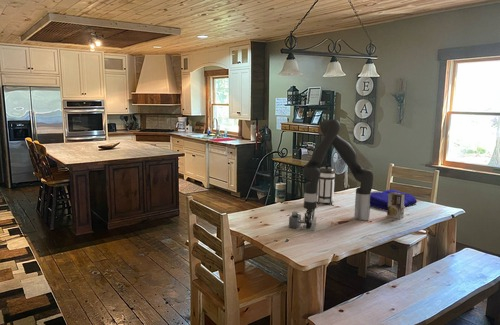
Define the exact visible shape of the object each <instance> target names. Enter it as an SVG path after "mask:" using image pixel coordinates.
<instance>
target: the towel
mask: <svg viewBox="0 0 500 325" xmlns="http://www.w3.org/2000/svg"><path fill="white" fill-rule="evenodd" d="M391 192H396V193H402V194H405V203H404V207H409V206H411V205H416V204H417V203H418V202H417V198H416V197H415V196H414V195H413V194H412V195H411V194H410V193H407V192H402V191H398V190H395V189H387V190H383V191H377V192H371V193H370V207H372V208H373V207H374V208H377V209H380V210H383V209H384V211H387V210H388V194H389V193H391Z"/></svg>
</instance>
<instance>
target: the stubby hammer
mask: <svg viewBox="0 0 500 325" xmlns="http://www.w3.org/2000/svg"><path fill="white" fill-rule="evenodd" d="M310 223H311V222H310ZM302 224H303V225H304V224H306V222H305V221H303V219H302V214H300V213H299V212H298V211H292V212H291V214H290V215H289V217H288V228H289V229H292V230H293V229H294V230H298V229H299V228H300V227H301V226H302Z"/></svg>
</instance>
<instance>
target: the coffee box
mask: <svg viewBox="0 0 500 325" xmlns="http://www.w3.org/2000/svg"><path fill="white" fill-rule="evenodd" d="M404 203H405V194H402V193H396V192H391V193H389V194H388V210H386V212H387V214H386V216H387V217H389V218H393V219H398V220H401V219H403V218H404V213H405V206H404Z"/></svg>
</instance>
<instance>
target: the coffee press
mask: <svg viewBox="0 0 500 325" xmlns="http://www.w3.org/2000/svg"><path fill="white" fill-rule="evenodd" d="M318 169H319V170H320V178H319V181H318V184H317V205H320V204H321V203H322V204H328V205H329V206H333V203H334V199H335V198H334V197H335V196H334V194H335V179H336V170H335V168H333V167H330V166H329V163H326V164H325V166H322V167H319V168H318Z"/></svg>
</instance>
